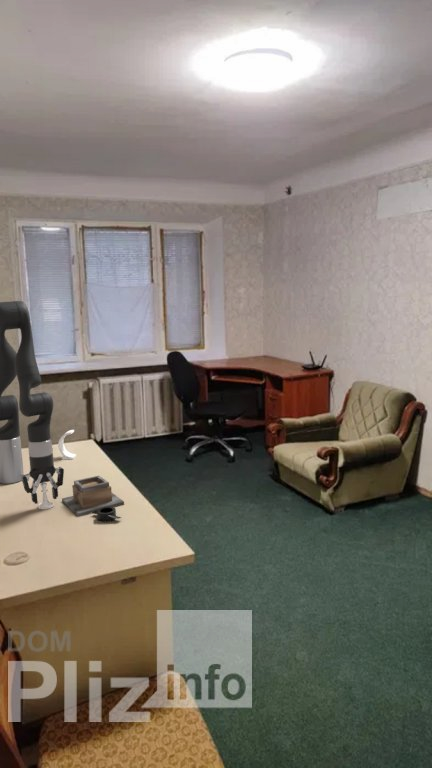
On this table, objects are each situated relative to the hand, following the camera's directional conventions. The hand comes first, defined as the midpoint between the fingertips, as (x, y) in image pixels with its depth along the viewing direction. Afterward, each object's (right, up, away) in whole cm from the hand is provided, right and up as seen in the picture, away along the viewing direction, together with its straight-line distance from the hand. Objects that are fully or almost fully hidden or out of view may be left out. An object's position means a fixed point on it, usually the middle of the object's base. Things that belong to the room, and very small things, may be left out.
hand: (45, 500), depth 181 cm
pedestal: (+16, -1, +2) cm, 16 cm away
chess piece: (0, -2, 0) cm, 2 cm away
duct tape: (+23, -4, -11) cm, 26 cm away
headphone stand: (-7, +7, +54) cm, 55 cm away
